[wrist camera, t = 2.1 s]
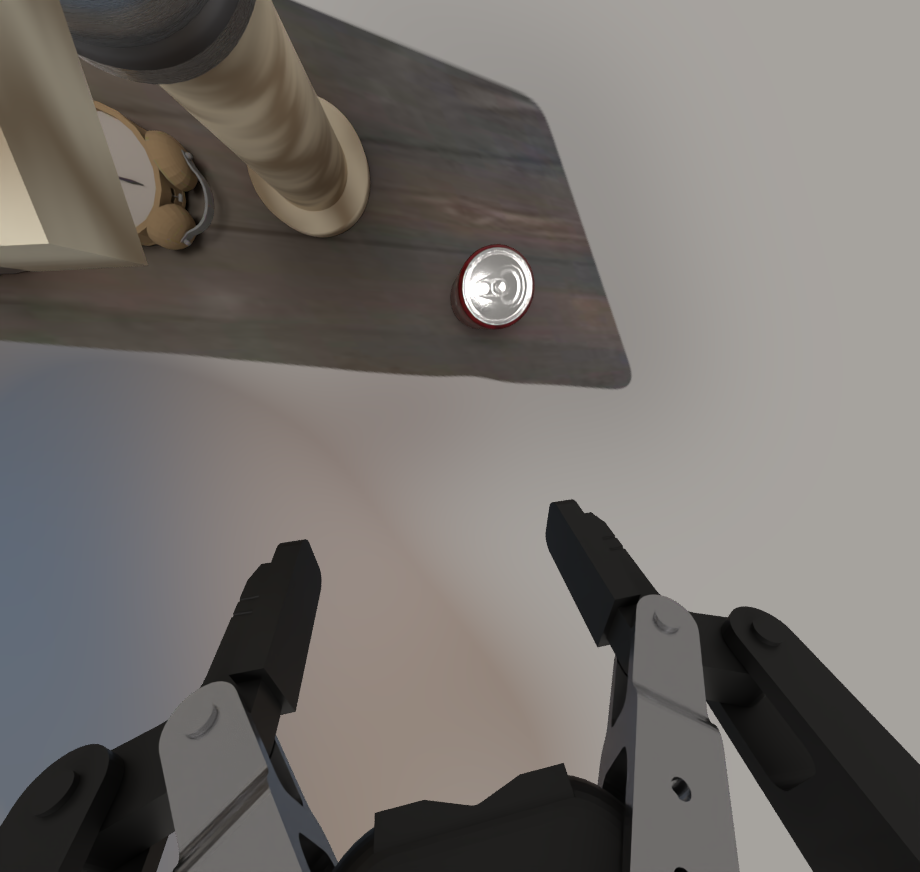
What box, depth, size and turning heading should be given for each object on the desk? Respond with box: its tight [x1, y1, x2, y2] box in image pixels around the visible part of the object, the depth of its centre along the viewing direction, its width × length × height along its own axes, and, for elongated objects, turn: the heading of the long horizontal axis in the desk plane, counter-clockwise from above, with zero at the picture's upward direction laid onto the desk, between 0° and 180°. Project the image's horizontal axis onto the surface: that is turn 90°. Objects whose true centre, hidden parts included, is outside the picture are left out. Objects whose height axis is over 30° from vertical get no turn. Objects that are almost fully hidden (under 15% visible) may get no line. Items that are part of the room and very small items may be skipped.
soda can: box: [450, 244, 534, 329], centre depth 35 cm, size 7×7×12 cm
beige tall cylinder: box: [59, 0, 370, 238], centre depth 21 cm, size 12×12×31 cm
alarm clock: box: [93, 101, 214, 250], centre depth 33 cm, size 11×5×15 cm
